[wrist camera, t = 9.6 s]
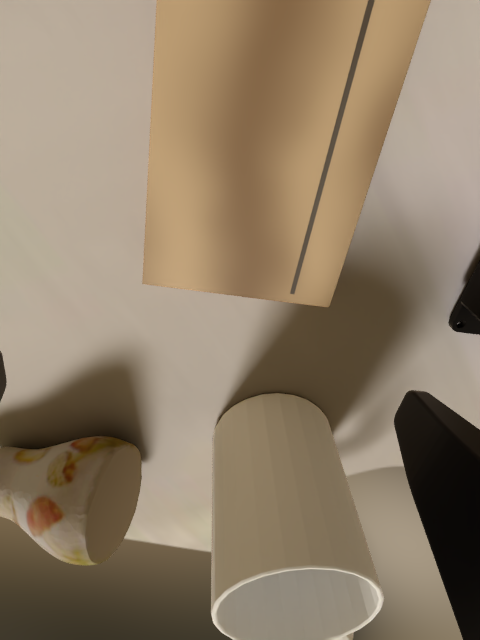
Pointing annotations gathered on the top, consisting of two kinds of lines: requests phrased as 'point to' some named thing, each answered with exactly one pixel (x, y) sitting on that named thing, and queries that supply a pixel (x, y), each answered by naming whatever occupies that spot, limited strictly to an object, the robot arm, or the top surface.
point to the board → (268, 139)
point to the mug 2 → (285, 528)
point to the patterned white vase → (72, 495)
